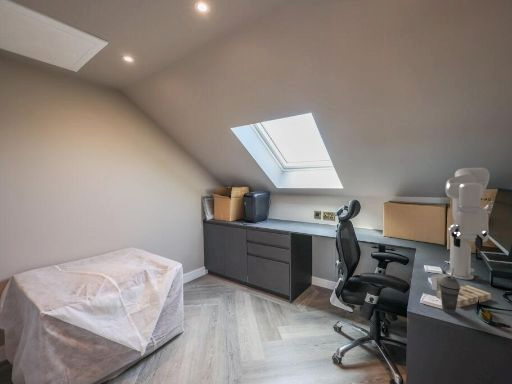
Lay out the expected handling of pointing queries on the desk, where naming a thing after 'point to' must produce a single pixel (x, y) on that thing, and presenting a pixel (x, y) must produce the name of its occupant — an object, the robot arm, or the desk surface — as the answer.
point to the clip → (437, 281)
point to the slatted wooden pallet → (469, 296)
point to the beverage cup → (449, 293)
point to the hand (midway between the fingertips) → (467, 246)
